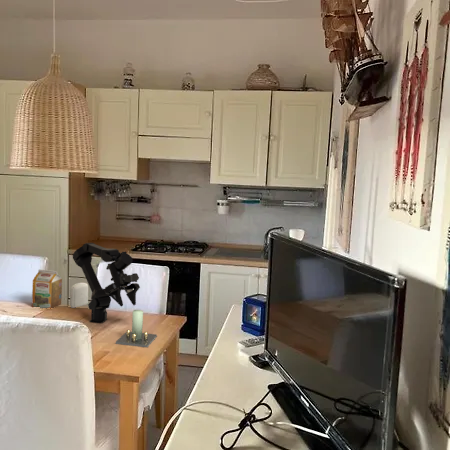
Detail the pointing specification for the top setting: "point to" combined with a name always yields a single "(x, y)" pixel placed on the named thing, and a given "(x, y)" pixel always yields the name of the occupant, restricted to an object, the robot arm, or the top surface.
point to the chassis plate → (131, 340)
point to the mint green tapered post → (137, 323)
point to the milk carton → (47, 289)
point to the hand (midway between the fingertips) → (128, 305)
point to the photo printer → (78, 295)
